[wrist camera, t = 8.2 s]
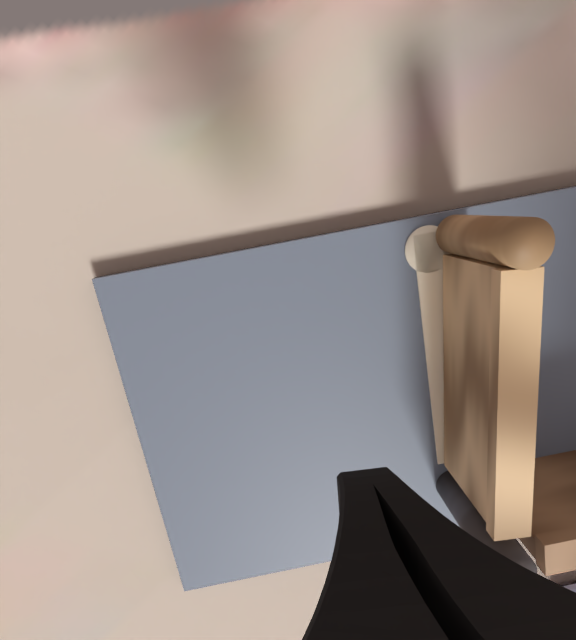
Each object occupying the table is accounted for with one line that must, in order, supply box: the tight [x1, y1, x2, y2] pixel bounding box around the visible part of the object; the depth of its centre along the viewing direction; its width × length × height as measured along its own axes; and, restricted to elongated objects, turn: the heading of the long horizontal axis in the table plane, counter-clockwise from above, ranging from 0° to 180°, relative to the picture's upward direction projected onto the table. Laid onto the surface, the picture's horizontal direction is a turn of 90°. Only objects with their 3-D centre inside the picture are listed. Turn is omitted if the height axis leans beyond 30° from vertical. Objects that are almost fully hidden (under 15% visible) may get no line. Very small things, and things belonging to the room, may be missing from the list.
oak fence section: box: [436, 215, 555, 541], centre depth 17 cm, size 12×2×5 cm, turn 5°
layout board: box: [92, 186, 576, 591], centre depth 21 cm, size 28×16×1 cm, turn 100°
